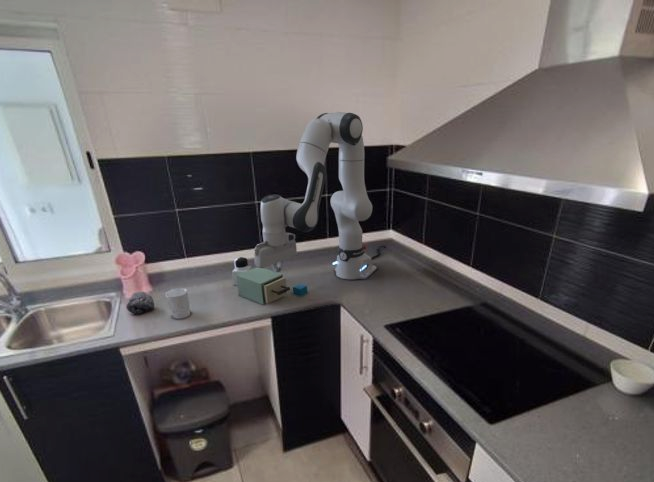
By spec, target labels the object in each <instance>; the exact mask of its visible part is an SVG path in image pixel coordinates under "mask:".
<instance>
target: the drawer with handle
mask: <svg viewBox="0 0 654 482" xmlns="http://www.w3.org/2000/svg"><path fill="white" fill-rule="evenodd" d="M262 286H263V294H264V301H265V300H266V304H270V303H272V302H275V301H276V300H278V299H280V298H282V297H285V296H287V295H288V292H289V291H291V287H290V286H287V278H286V277H285V276H283V278H281V279H280V277H279V278H277V279H275V280H272V281H270V282H268V283H266V284H263V285H262Z"/></svg>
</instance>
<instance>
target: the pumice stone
mask: <svg viewBox="0 0 654 482" xmlns="http://www.w3.org/2000/svg"><path fill="white" fill-rule="evenodd" d="M155 305H156V304H155V301H154V298H153V297H152V296H151V295H150V294H149V293H146V292H145V291H136V292H133V293H132V295H131V296H130V298H129V300H128V302H127V303H126V306H125V307H126V310H127V311H128V312H129V313H131V314H133V315H142V314H144V313H146V312H149V311H152V310H154V309H155Z"/></svg>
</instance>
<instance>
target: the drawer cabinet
mask: <svg viewBox="0 0 654 482" xmlns="http://www.w3.org/2000/svg"><path fill="white" fill-rule="evenodd" d="M236 277H237V283H238V285H237V290H238V295H239V296H240V297H243V298H245V299H248V300H250V301H253V302H255V303H258V304H261V305H266V304H267V303H266V300H265V301H264V294H263V286H262V285H263V284H266V283H268V282H270V281H272V280H275V279H277V278H279V277H280V279H281V278H283V277H284V274H283V273H280V272H277V273H275V272H274V271H273V270H270V269H268V268H266V267H264V268H259V267H257V266H255V267H253V268H252V269H251V270H248V271H246V272H243V273H240V274H238V275H236Z"/></svg>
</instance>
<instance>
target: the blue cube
mask: <svg viewBox="0 0 654 482" xmlns="http://www.w3.org/2000/svg"><path fill="white" fill-rule="evenodd" d="M292 294H293V295H295V296H298V297H303V296H305V295H307V294H308V286H307V285H305V284H303V283H297V284H296V285H294V286H292Z"/></svg>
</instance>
